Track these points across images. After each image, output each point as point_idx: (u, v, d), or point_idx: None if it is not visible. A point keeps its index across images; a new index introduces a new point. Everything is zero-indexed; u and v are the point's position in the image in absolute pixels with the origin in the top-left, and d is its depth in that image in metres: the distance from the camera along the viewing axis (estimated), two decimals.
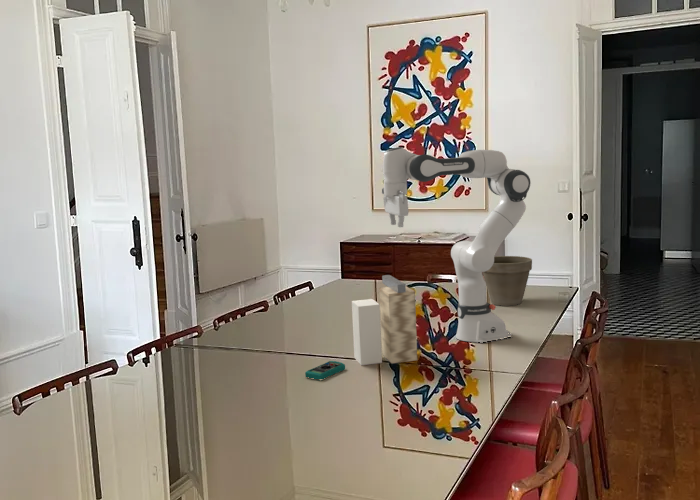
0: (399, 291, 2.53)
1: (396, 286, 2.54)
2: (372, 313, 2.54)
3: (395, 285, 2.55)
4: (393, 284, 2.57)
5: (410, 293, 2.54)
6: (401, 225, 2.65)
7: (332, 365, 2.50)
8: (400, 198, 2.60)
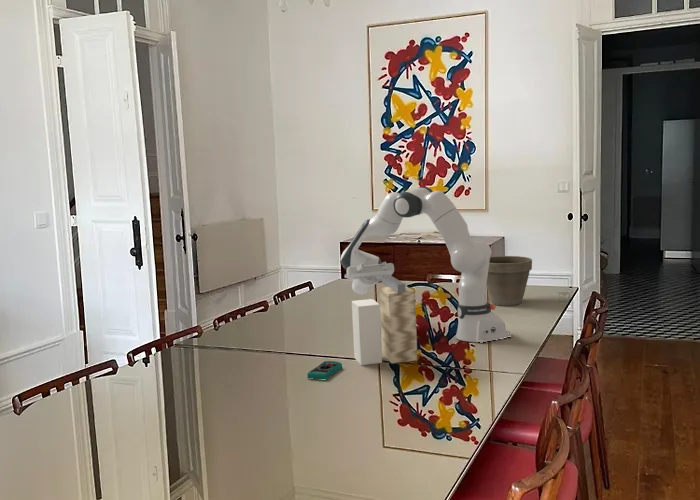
0: (399, 291, 2.53)
1: (396, 286, 2.54)
2: (372, 313, 2.54)
3: (395, 285, 2.55)
4: (393, 284, 2.57)
5: (410, 293, 2.54)
6: (360, 265, 2.88)
7: (330, 365, 2.51)
8: None
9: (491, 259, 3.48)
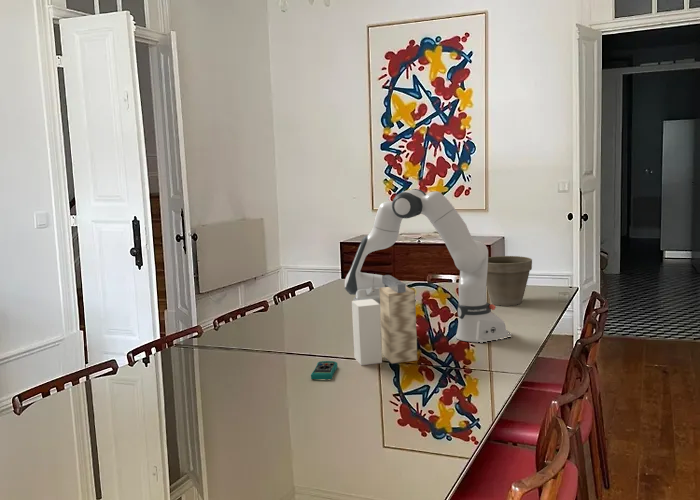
0: (399, 291, 2.53)
1: (396, 286, 2.54)
2: (372, 313, 2.54)
3: (395, 285, 2.55)
4: (393, 284, 2.57)
5: (410, 293, 2.54)
6: (370, 289, 2.75)
7: (327, 365, 2.51)
8: None
9: (491, 259, 3.48)
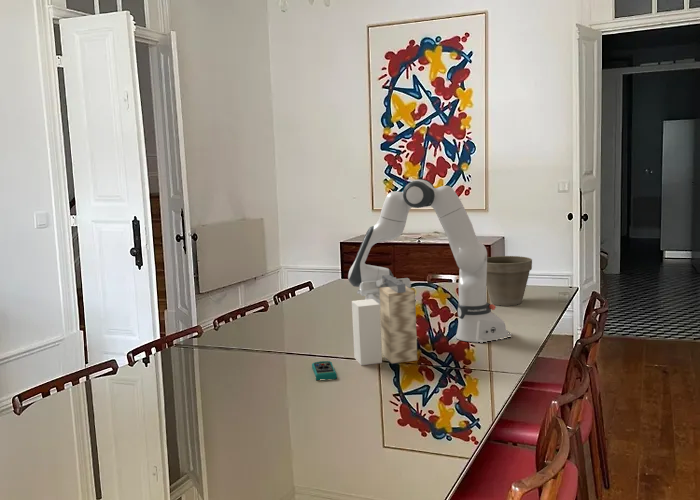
0: (399, 291, 2.53)
1: (396, 286, 2.54)
2: (372, 313, 2.54)
3: (395, 285, 2.55)
4: (393, 284, 2.57)
5: (410, 293, 2.54)
6: (381, 280, 2.68)
7: (324, 365, 2.51)
8: None
9: (491, 259, 3.48)
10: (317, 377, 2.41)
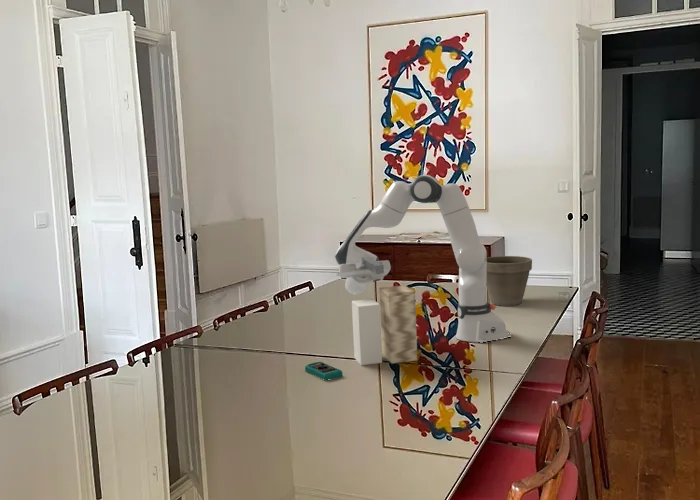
0: (377, 272, 2.50)
1: (374, 267, 2.51)
2: (372, 313, 2.54)
3: (373, 266, 2.52)
4: (371, 265, 2.55)
5: (410, 293, 2.54)
6: (360, 262, 2.65)
7: (320, 365, 2.51)
8: None
9: (491, 259, 3.48)
10: (326, 377, 2.40)
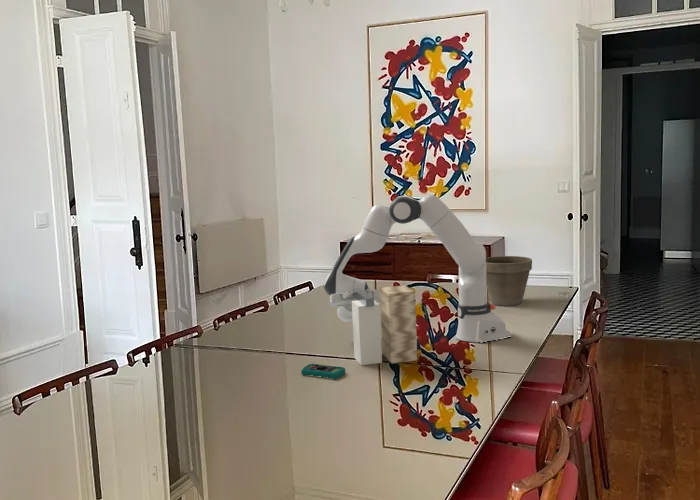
0: (367, 305, 2.51)
1: (365, 300, 2.52)
2: (372, 313, 2.54)
3: (364, 299, 2.53)
4: (362, 298, 2.55)
5: (410, 293, 2.54)
6: (346, 293, 2.65)
7: (316, 367, 2.49)
8: None
9: (491, 259, 3.48)
10: (336, 375, 2.41)
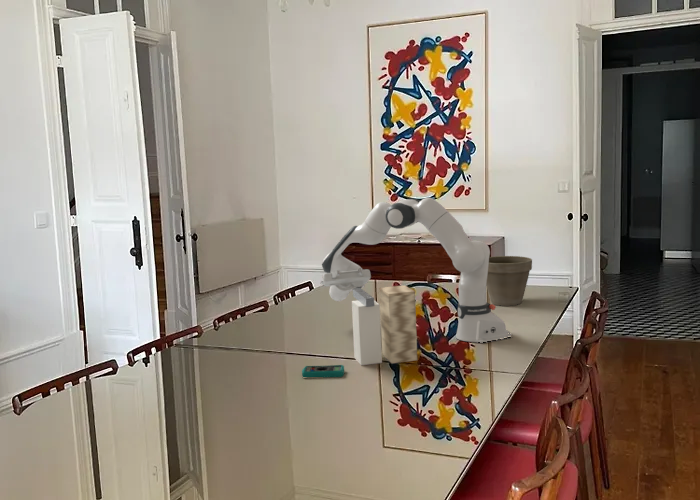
0: (367, 305, 2.51)
1: (365, 300, 2.52)
2: (372, 313, 2.54)
3: (364, 299, 2.53)
4: (362, 298, 2.55)
5: (410, 293, 2.54)
6: (336, 272, 2.85)
7: (314, 368, 2.48)
8: None
9: (491, 259, 3.48)
10: (342, 373, 2.44)
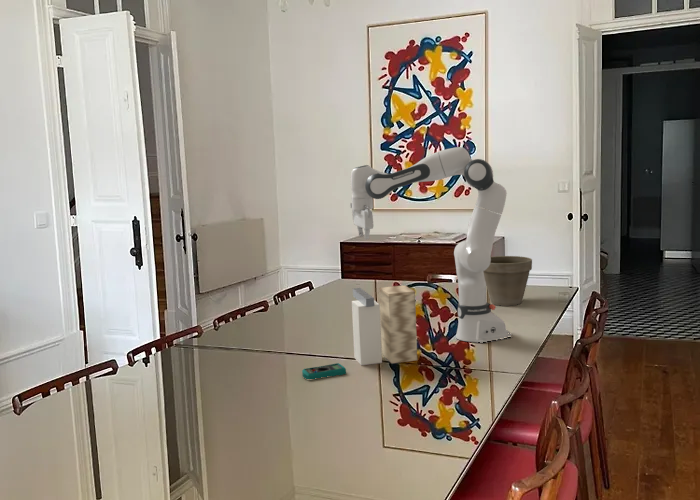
0: (367, 305, 2.51)
1: (365, 300, 2.52)
2: (372, 313, 2.54)
3: (364, 299, 2.53)
4: (362, 298, 2.55)
5: (410, 293, 2.54)
6: (367, 237, 2.88)
7: (314, 369, 2.46)
8: (365, 212, 2.82)
9: (491, 259, 3.48)
10: (345, 370, 2.46)
